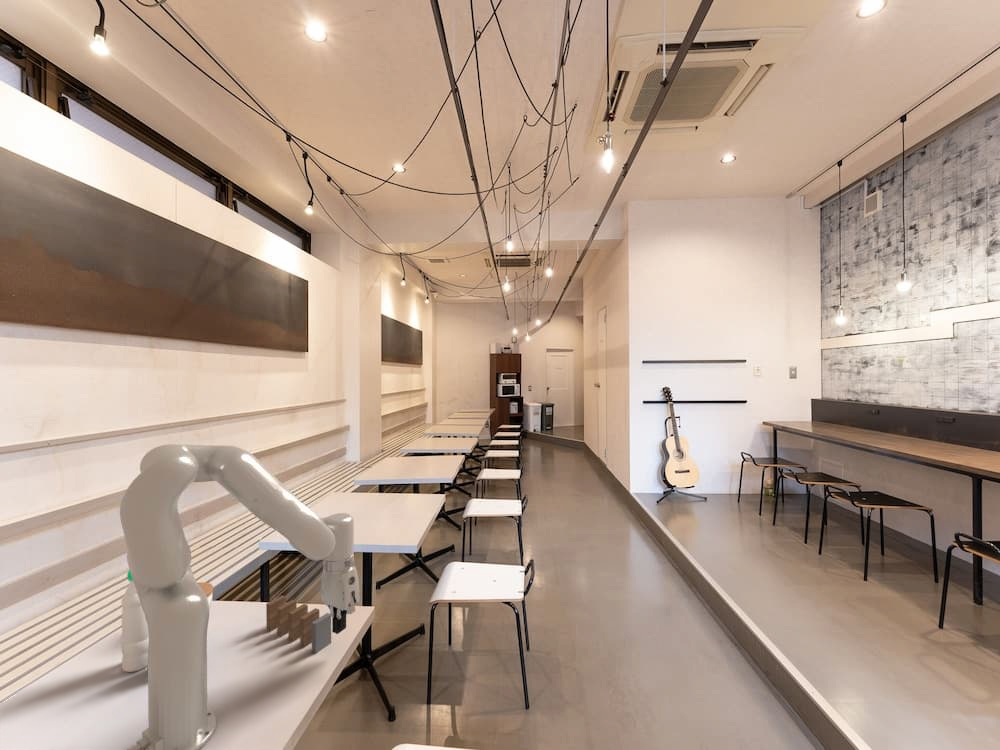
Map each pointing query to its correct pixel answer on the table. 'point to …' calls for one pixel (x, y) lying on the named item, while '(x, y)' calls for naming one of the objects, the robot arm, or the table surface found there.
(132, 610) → the water bottle
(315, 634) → the domino
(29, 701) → the table surface
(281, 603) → the domino
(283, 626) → the domino
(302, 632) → the domino
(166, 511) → the robot arm
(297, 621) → the domino
